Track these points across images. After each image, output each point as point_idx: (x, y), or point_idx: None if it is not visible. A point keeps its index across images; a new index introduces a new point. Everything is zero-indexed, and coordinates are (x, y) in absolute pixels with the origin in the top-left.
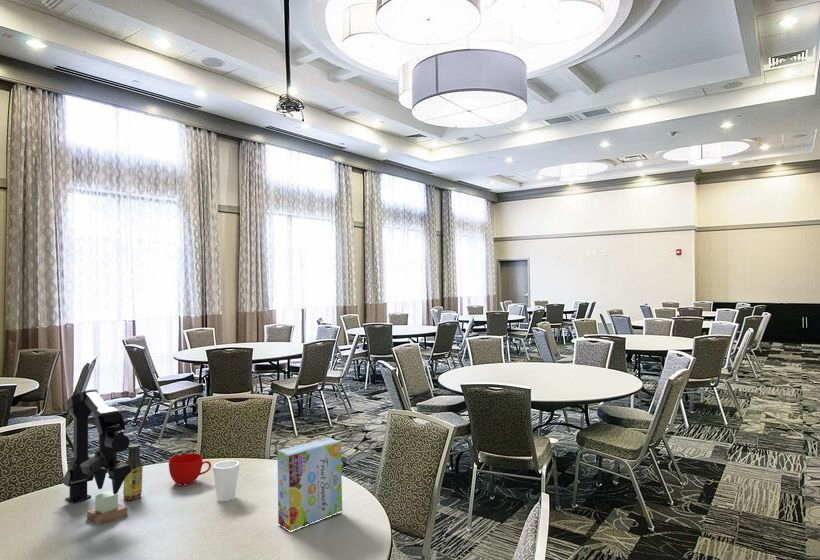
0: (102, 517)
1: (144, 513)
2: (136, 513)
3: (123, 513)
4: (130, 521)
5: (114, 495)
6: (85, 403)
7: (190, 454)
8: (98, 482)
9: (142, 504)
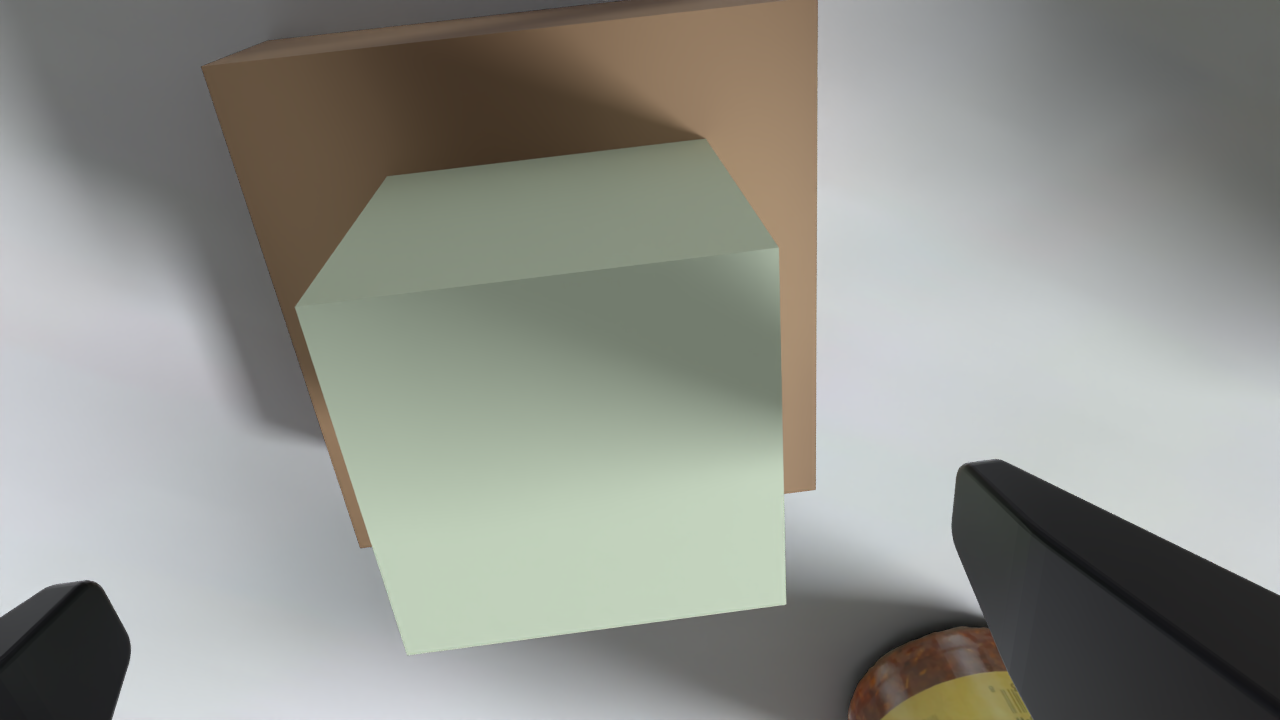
0: (215, 83)
1: (286, 611)
2: (372, 555)
3: None
4: (114, 406)
5: (392, 571)
6: None
7: None
8: (1116, 628)
9: (620, 689)
